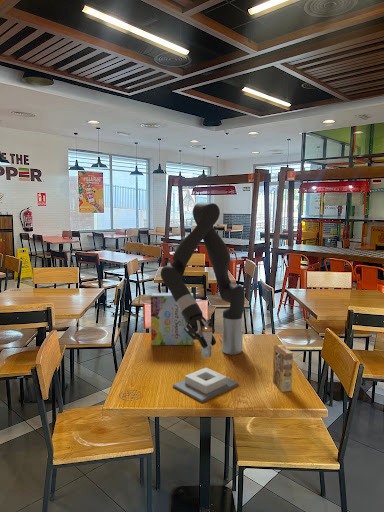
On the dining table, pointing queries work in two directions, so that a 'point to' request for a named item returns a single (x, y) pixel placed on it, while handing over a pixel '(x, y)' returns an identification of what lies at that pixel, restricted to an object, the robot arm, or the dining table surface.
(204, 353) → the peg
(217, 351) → the dining table surface
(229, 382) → the dock
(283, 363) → the candy box
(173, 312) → the snack box
